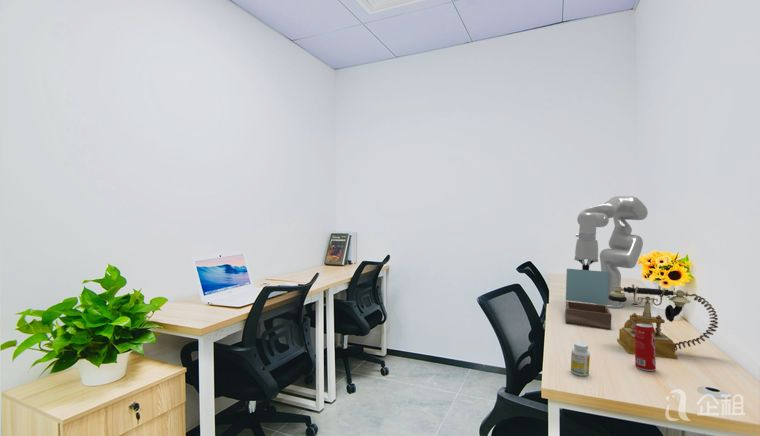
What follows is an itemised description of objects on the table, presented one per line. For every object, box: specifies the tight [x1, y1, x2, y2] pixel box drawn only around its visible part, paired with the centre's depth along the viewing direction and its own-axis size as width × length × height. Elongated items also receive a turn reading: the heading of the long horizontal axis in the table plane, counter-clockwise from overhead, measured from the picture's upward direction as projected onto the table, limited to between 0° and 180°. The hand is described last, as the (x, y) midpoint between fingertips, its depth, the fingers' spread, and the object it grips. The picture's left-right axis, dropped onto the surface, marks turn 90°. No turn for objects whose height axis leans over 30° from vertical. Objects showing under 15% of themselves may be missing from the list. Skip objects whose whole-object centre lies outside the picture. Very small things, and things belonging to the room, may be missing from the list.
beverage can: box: [634, 323, 657, 372], centre depth 129 cm, size 6×6×15 cm
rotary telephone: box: [608, 283, 719, 360], centre depth 146 cm, size 35×18×25 cm, turn 74°
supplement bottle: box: [570, 341, 591, 377], centre depth 125 cm, size 5×5×10 cm
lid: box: [565, 268, 608, 305], centre depth 188 cm, size 16×18×1 cm
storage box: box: [564, 300, 613, 331], centre depth 179 cm, size 16×18×7 cm
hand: (585, 272), depth 193 cm, fingers closed
